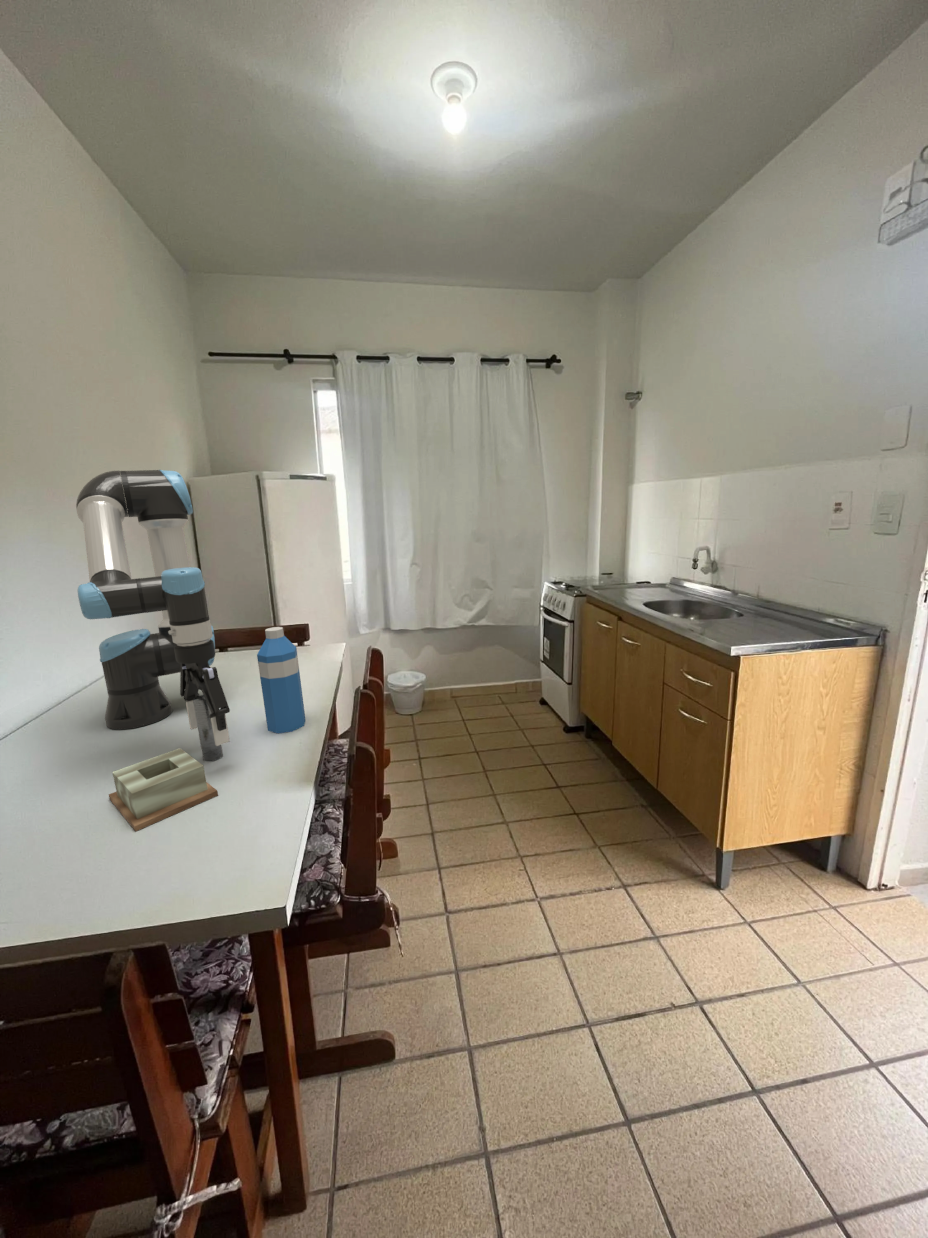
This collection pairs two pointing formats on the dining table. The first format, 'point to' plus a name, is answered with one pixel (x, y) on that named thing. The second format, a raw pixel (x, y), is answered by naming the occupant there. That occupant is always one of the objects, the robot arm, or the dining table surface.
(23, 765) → the dining table surface
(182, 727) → the dining table surface
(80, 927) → the dining table surface
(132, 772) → the socket
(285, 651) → the water bottle
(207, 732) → the peg
